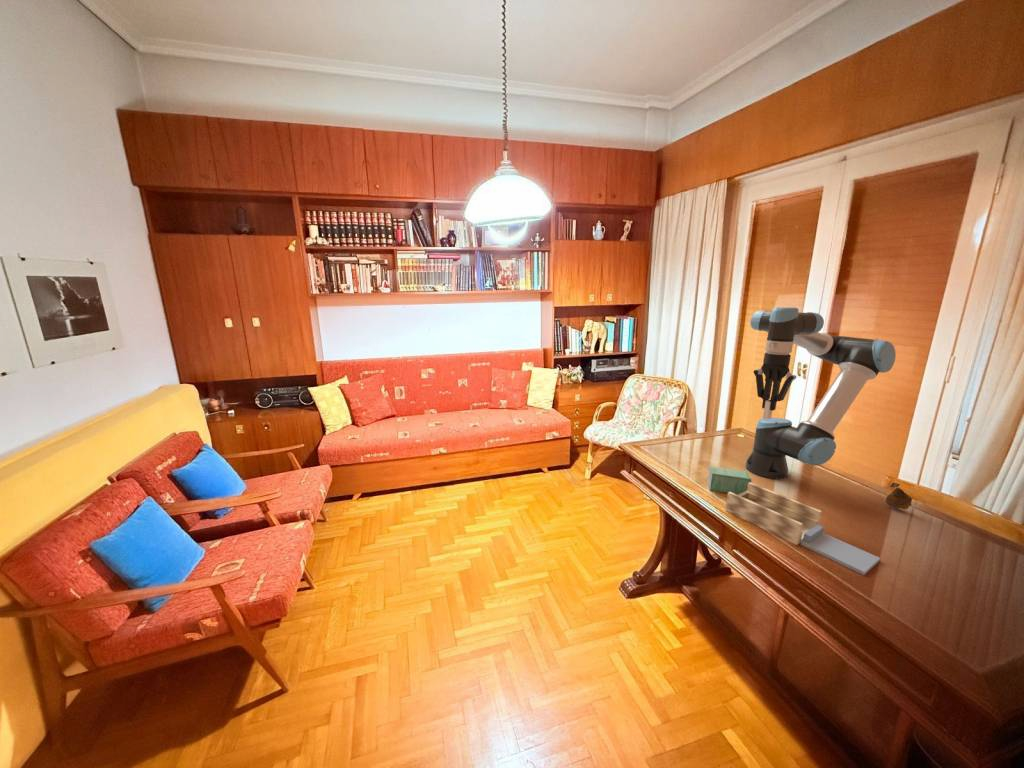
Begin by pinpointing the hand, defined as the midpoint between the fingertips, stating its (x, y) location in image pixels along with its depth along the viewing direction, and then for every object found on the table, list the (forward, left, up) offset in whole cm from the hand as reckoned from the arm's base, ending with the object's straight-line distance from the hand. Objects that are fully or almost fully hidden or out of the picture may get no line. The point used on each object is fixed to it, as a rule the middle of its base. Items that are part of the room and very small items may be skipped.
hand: (767, 418), depth 137 cm
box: (+5, -8, -31) cm, 32 cm away
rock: (-32, +30, -31) cm, 54 cm away
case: (+13, +12, -30) cm, 35 cm away
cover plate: (+13, +31, -31) cm, 45 cm away
